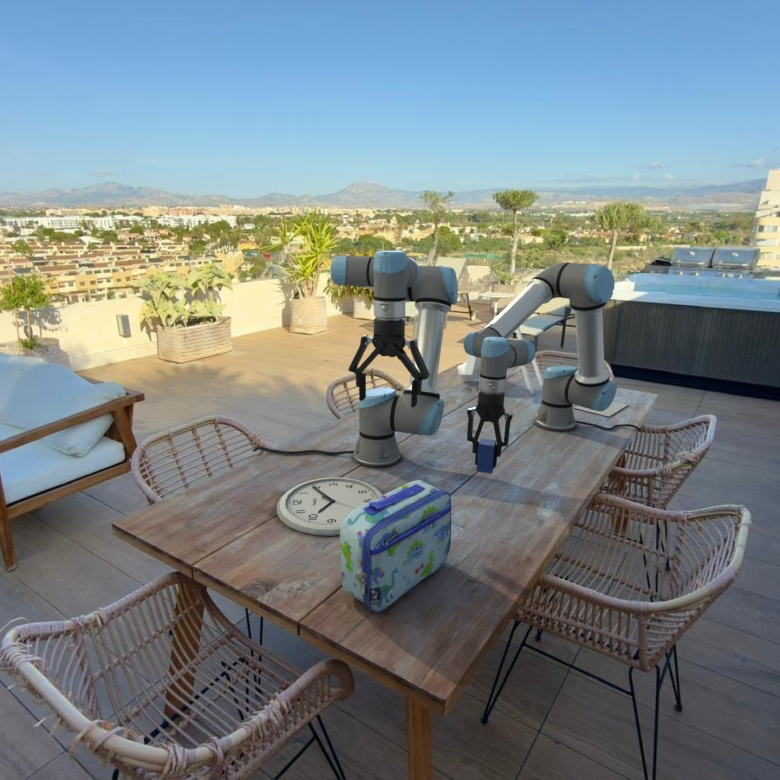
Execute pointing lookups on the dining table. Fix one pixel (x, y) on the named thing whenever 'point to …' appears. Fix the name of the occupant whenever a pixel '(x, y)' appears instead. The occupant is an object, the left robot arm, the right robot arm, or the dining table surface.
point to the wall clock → (323, 504)
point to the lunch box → (394, 543)
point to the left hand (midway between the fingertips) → (387, 402)
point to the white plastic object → (473, 368)
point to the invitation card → (609, 411)
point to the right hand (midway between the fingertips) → (485, 464)
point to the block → (485, 455)
